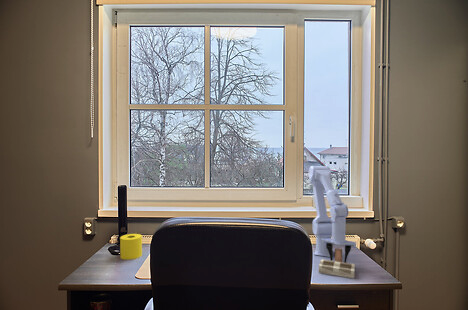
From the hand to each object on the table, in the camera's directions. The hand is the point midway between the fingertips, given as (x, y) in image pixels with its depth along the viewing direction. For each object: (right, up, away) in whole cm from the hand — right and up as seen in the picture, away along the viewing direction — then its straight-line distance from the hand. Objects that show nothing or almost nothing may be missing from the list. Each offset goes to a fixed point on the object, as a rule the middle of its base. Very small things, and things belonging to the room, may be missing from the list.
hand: (338, 260), depth 135 cm
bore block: (-3, -2, -8) cm, 9 cm away
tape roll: (-98, -2, +11) cm, 98 cm away
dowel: (0, -2, 0) cm, 2 cm away
